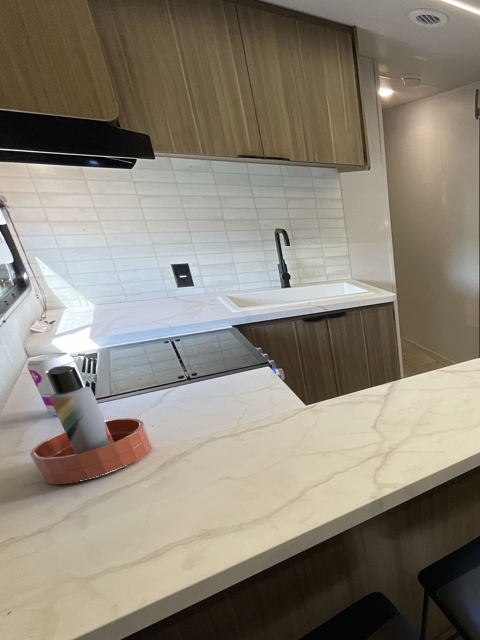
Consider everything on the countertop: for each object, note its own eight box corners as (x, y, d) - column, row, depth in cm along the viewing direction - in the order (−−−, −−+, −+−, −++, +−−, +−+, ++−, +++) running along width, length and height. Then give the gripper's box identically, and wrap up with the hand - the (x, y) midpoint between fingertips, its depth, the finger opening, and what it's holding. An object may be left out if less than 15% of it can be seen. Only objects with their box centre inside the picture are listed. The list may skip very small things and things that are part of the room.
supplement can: (50, 419, 102) (24, 364, 97) (49, 410, 107) (24, 357, 102) (94, 408, 108) (71, 355, 102) (91, 400, 113) (69, 350, 108)
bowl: (37, 498, 71) (21, 469, 69) (51, 461, 83) (38, 435, 81) (153, 463, 81) (142, 437, 79) (151, 434, 93) (142, 411, 91)
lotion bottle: (114, 449, 86) (77, 361, 79) (122, 457, 83) (84, 366, 75) (78, 462, 81) (34, 369, 74) (84, 471, 78) (40, 375, 71)
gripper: (-42, 216, 80) (-9, 286, 85) (-83, 212, 65) (-40, 297, 70) (5, 216, 84) (34, 283, 89) (-23, 212, 69) (13, 292, 74)
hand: (1, 289), depth 79 cm, fingers open, 8 cm apart
